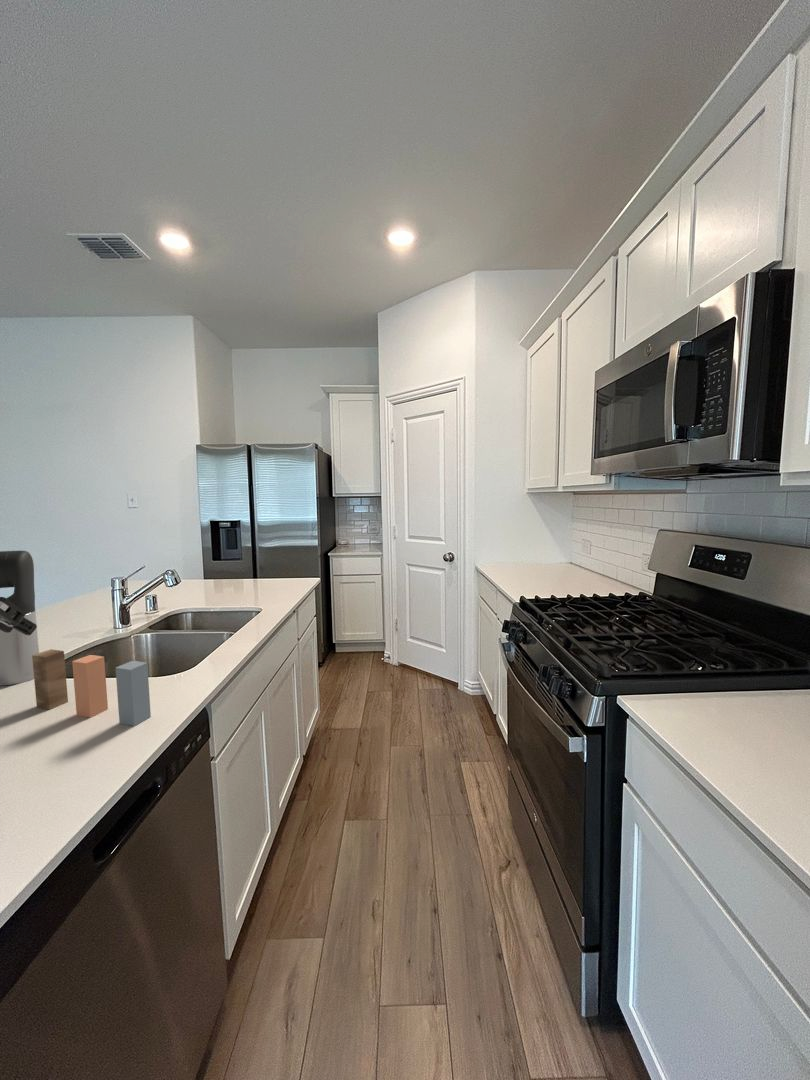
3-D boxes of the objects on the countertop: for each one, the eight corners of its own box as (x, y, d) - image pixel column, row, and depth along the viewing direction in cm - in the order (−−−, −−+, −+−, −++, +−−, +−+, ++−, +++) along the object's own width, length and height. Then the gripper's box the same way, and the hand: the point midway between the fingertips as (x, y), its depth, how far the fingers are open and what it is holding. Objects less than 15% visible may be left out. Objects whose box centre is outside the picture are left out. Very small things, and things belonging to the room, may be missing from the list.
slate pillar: (119, 723, 92) (115, 667, 91) (136, 714, 96) (132, 660, 95) (134, 726, 91) (130, 669, 90) (150, 716, 95) (147, 662, 94)
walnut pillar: (36, 707, 99) (32, 655, 98) (55, 699, 103) (51, 649, 102) (49, 709, 98) (45, 657, 97) (68, 701, 102) (63, 651, 101)
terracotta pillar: (76, 714, 96) (72, 661, 94) (94, 706, 100) (90, 654, 98) (90, 717, 95) (86, 663, 93) (108, 709, 98) (104, 656, 97)
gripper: (-20, 560, 71) (63, 615, 83) (-78, 557, 75) (10, 609, 88) (-59, 601, 66) (35, 651, 79) (-119, 594, 70) (-20, 644, 83)
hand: (21, 629), depth 83 cm, fingers open, 5 cm apart
